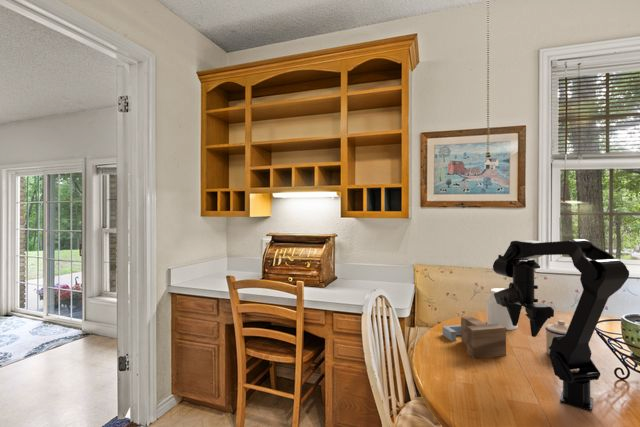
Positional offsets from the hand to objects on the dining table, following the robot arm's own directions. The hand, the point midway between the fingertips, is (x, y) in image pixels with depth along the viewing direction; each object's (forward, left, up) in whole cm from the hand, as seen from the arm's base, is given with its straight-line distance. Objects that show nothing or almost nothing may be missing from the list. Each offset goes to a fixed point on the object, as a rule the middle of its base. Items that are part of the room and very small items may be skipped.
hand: (523, 330), depth 105 cm
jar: (+39, +15, -12) cm, 44 cm away
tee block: (+8, +16, -12) cm, 22 cm away
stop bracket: (+15, +25, -12) cm, 31 cm away
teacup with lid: (+21, -8, -12) cm, 26 cm away
